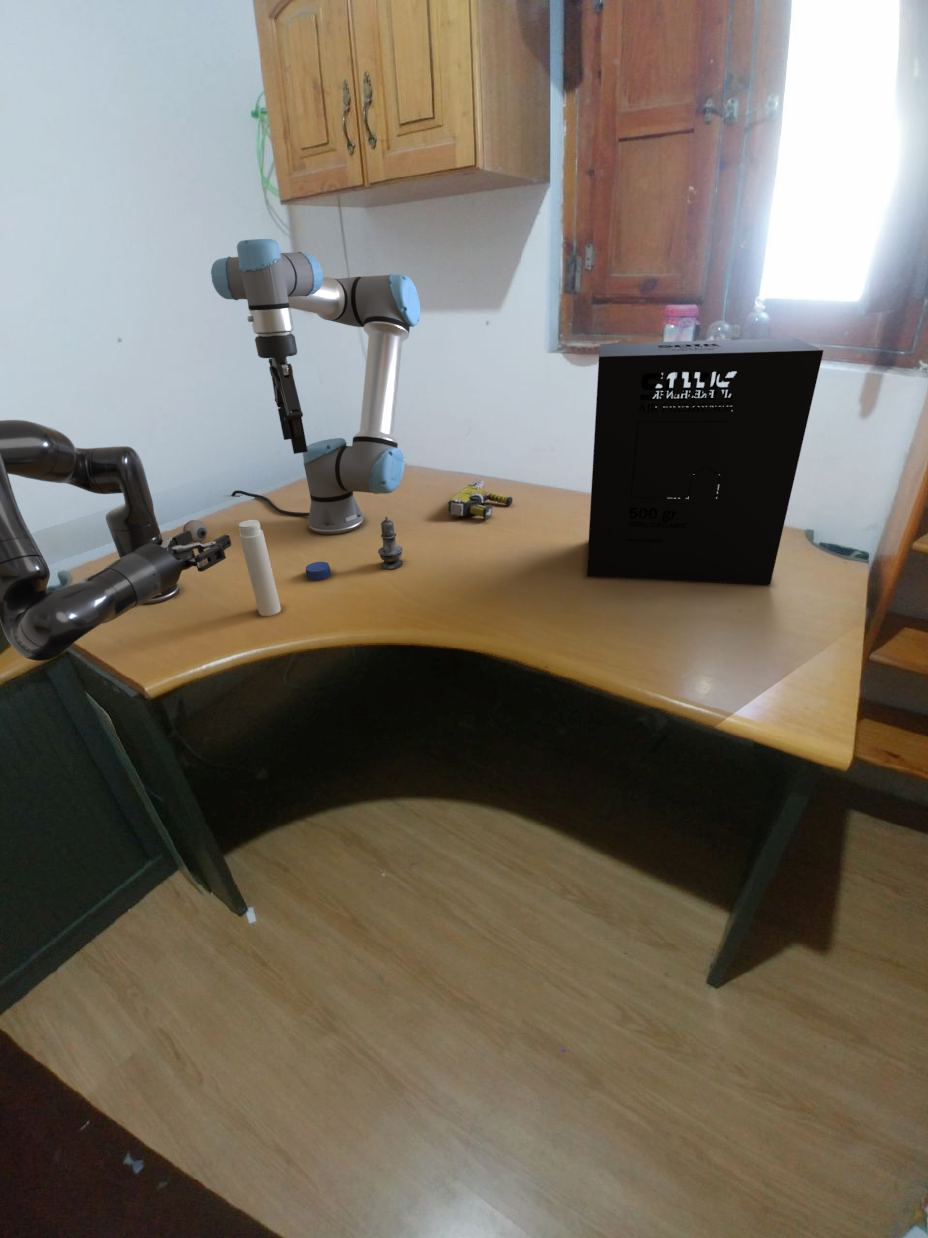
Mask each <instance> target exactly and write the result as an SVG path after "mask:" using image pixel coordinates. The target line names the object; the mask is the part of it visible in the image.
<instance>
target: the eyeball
mask: <svg viewBox="0 0 928 1238" xmlns="http://www.w3.org/2000/svg"><path fill="white" fill-rule="evenodd" d="M184 531H190V532H191V534H192V538H193V542H192V543H193V544H194V543H201V542H203V541H204V540H205V539H206V538H207V536H208V527H207V525H206V524H205V523H203V522H202V521H200V520H197V519H193V520H189V521H187V522H186V523H185V524H184V525H183V528H182V532H184Z"/></svg>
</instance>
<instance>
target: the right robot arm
mask: <svg viewBox="0 0 928 1238" xmlns="http://www.w3.org/2000/svg"><path fill="white" fill-rule="evenodd" d="M236 251H237V256H227V257H223V258H217V260H215V261H214V262H213V263H212V266H211V269H210V275H211V276H210V277H211V282H212V283H211V284H212V285H213V288H214V290H215V291H216V293H217V294H218V295H219V296H220V297H221V298H223V299H225V300H234V301H239V300H246V301H247V308H248V310H249V311H248V312H249V314H250V315H249V316H247V317H246V319H247V322H248V323H251V325H252V326H251V327H252V332H253V333H254V334H256V335H257V336H255V338H254V342H255V348H256V352H257V356H258V358H261V359H268V364H269V367H268V368H269V374H270V377H271V382H272V387H273V396H274V402H275V404H276V407H277V411H278V418H279V422H280V428H281V432H282V437H283V440H284V441H287V440H290V442H291V447H292V451H293V454H294V455H295V454H296V455H297V454H302V457H303V458H302V460H303V467H304V471H305V477H306V481H307V486H308V492H309V498H310V507H309V512H301V511H288V510H284V509H281V508H280V507H278V506H277V505H275V504H274V503H273V502H272V501H271V500H270V499H269V498H268V497H266V496H264V495H261V494H260V495H259V494H256V493H251V492H247V491H244V490H239V489H238V490H234V491H233V492H232V493H231V494H230V495H231V497H235V496H236V495H237V494H239V495H244V496H247V497H251V498H257V499H260V500H263V501H265V502H267V504H268V505H269V506H270V507H271V508H273V509H274V510H275V511H276V512H278V513H279V514H282V515H287V516H293V517H294V516H295V517H296V516H297V517H308V523H307V524H308V528H309V529H308V530H310V531H311V532H312V533H314V534H317V535H323V536H324V535H325V536H327V535H329V536H331V535H339V534H340V535H341V534H345V533H350V532H353V531H355V530H357V529H359V528H361V527H362V526H363V525H364V523H365V519H364V514H363V512H362V510H361V508H360V505H359V504H358V501H357V500H356V498H355V495H354V493H355V492H356V493H369V494H374V495H380V494H385V495H386V494H390V493H393V492H395V491H396V490H397V488H398V487H399V486H400V485H401V482H402V481H403V480H402V479H403V476H404V472H405V466H406V465H405V460H404V459H405V456H404V453H403V452H402V450H401V449H399V447H398V446H399V443H398V441H397V440H396V439H395V437H394V428H395V418H396V410H397V409H396V408H397V397H398V388H399V380H400V379H399V378H400V370H401V369H400V368H401V360H402V349H403V343H404V342H405V341H407V339H409V336H410V329H411V328H413V327H415V326H417V325H418V324H419V322H420V318H421V304H420V303H421V302H420V298H419V294H418V291H417V290H418V289H417V288H416V285H415V284H414V282H413V280H412V279H411V278H410V277H409V276H408V275H406V274H394V273H390V274H384V275H367V276H366V275H365V276H352V277H342V278H335V277H334V278H333V277H330V276H326V277H324V274H323V273H324V272H323V269H322V266H321V264H320V262H319V260H317V258H316V257H314V255H311V254H309V253H306V252H302V251H298V252H296V251H295V252H281V249H280V246H279V243H278V241H277V240H275V239H273V238H257V239H256V238H255V239H242V240H240V241H238V242H237V244H236ZM291 309H293V310H298V311H303V312H307V313H313V314H316V315H317V316H318V317H319V318H320V319H323V320H324V321H329V322H330V321H331V322H333V323H338V324H343V325H346V326H350V327H356V328H363V331H364V332H365V334H366V335H367V337H368V341H367V349H366V359H365V360H366V361H365V369H364V371H365V372H364V379H363V380H364V382H363V389H362V390H363V392H362V401H361V411H360V412H361V413H360V424H359V431H358V432H357V433H356V434H355V435H353V436H352V442H351V443H352V444H351V445H347V441H346V439H345V438H342V437H335V438H328V439H323V440H320V441H316V442H313V443H309V444H307V439H306V435H305V429H304V428H305V427H304V424H303V418H304V417H303V416H304V413H303V411H302V407H301V403H300V399H299V395H298V394H299V393H298V391H297V386H296V382H295V378H294V371H293V365H292V364H291V363H288V360H287V359H288V357H293V356H296V355H297V354H298V346H297V342H296V341H297V340H296V337H295V335H294V333H292V332H293V331H294V329H295V328H294V323H293V317H292V311H291Z"/></svg>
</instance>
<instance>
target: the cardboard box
mask: <svg viewBox="0 0 928 1238" xmlns="http://www.w3.org/2000/svg"><path fill="white" fill-rule="evenodd" d="M598 353H599V354H598V363H597V364H598V367H597V383H596V385H597V386H596V387H597V388H596V403H595V417H594V418H595V419H594V438H593V456H592V473H591V490H590V491H591V492H590V508H589V527H588V543H587V545H588V546H587V561H586V577H587V578H608V579H609V578H610V579H628V580H629V579H630V580H631V579H632V580H633V579H634V580H653V581H654V580H655V581H676V582H677V581H678V582H697V583H698V582H700V583H723V584H744V585H745V584H746V585H765V586H767V585H768V586H771V584H772V579H773V575H774V571H775V566H776V560H777V557H778V553H779V549H780V543H781V539H782V535H783V530H784V526H785V522H786V518H787V513H788V509H789V506H790V505H789V504H790V500H791V495H792V492H793V486H794V482H795V478H796V475H797V474H796V473H797V469H798V466H799V460H800V456H801V451H802V446H803V442H804V438H805V434H806V431H807V427H808V426H807V425H808V421H809V416H810V412H811V407H812V403H813V398H814V394H815V390H816V386H817V381H818V377H819V372H820V369H821V363H822V359H823V355H824V349H822V348H819V347H817V346H815V345H812V344H811V343H808V342H805V341H802V340H800V339H798V338H795V337H777V338H776V337H775V338H772V337H771V338H746V339H745V338H743V339H739V338H738V339H713V340H709V339H708V340H683V341H682V340H681V341H679V340H678V341H651V342H649V341H648V342H647V341H646V342H621V343H619V342H618V343H600V344H599V352H598ZM732 372H733V373H734V372H735V373H734V375H733V376H732V377H727V376H728V375H729V373H732ZM674 373H676V377H675V378H673V384H672V387H670V384H671V378H670V377H669V376H670V374H674ZM683 373H688V376H687V383H690V384H689V387H685V382H686V381H685V378H684V377H683ZM696 373H699V378H698V377H696ZM713 373H715V376H714V382H713V383H712V379H713ZM668 377H669V378H668ZM717 381H718V383H719V384H721V383H728V384H727V386H719V385H718V383H717ZM698 382H699V383H700V384H701V383H702V384H703V387H701V386H700V387H699V386H698ZM657 385H660V386H661V387H657ZM697 386H698V387H697Z"/></svg>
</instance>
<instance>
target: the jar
mask: <svg viewBox="0 0 928 1238" xmlns="http://www.w3.org/2000/svg"><path fill="white" fill-rule="evenodd" d="M238 529H239V535H238V537H239V539H240V543H241V549H242V551H243V556H244V560H245V563H246V567H247V571H248V576H249V579H250V582H251V587H252V591H253V595H254V600H255V602H256V607H257V610H258V614H259V615H260V616H261V617H272V616H274V615H277V614H279V613H280V612H281V611H282V607H281V603H280V598H279V595H278V590H277V586H276V582H275V578H274V573H273V569H272V564H271V560H270V555H269V551H268V548H267V547H268V546H267V542H266V539H265V534H264V531H263V530H262V529H261V523H260V521H259V520H257V519H248V520H247V519H246V520H244V521H242V522H240V523H238Z"/></svg>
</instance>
